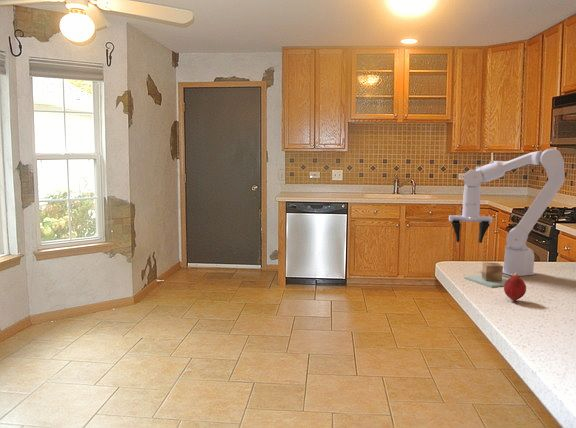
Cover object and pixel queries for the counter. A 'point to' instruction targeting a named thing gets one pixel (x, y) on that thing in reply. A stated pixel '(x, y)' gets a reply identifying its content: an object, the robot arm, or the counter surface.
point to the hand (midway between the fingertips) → (468, 242)
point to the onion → (515, 287)
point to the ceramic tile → (487, 283)
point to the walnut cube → (492, 271)
